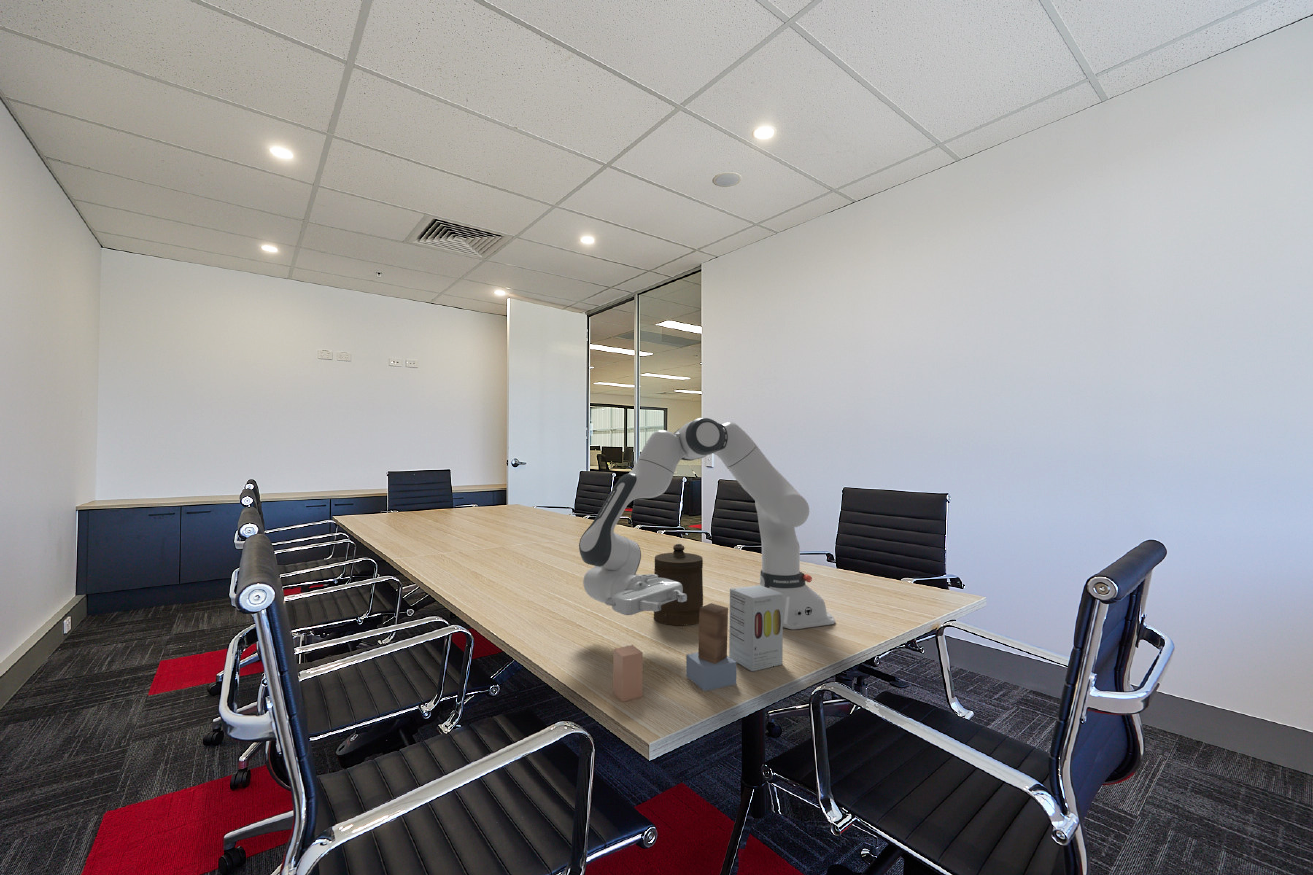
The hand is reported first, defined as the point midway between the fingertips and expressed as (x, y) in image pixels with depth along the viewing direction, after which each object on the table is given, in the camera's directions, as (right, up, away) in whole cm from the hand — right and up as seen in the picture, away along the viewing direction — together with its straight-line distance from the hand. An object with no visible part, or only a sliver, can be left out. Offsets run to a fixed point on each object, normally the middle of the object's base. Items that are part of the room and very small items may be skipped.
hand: (672, 602), depth 122 cm
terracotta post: (-10, -14, -16) cm, 23 cm away
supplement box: (+20, -14, +1) cm, 25 cm away
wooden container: (+3, -15, +33) cm, 36 cm away
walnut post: (+9, -9, -9) cm, 15 cm away
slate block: (+8, -14, -9) cm, 19 cm away
